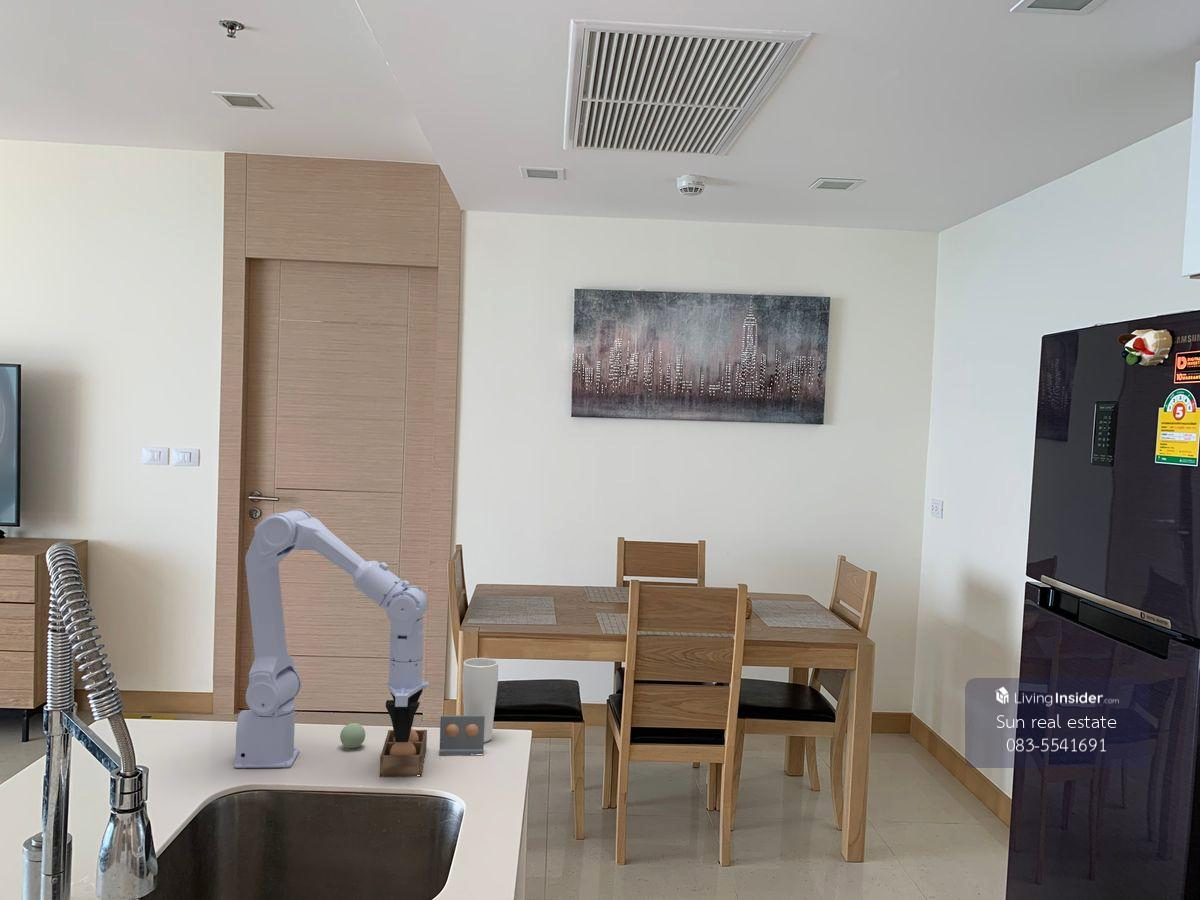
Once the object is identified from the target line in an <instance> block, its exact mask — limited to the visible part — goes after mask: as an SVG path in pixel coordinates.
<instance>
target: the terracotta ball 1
mask: <svg viewBox="0 0 1200 900" xmlns="http://www.w3.org/2000/svg"><path fill="white" fill-rule="evenodd" d="M415 730H416V729H413V727H412V728H411V732H410V737H409V740H408V741H410V742H419V737H418V734H417V732H416V731H415ZM393 742H396V741H395V737H394V741H393Z"/></svg>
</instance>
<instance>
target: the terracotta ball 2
mask: <svg viewBox="0 0 1200 900" xmlns="http://www.w3.org/2000/svg"><path fill="white" fill-rule="evenodd" d="M390 755H416V748H415V746H414V744H413V743H412V742H410V741H408V742H396V743H395V744H394V745H393V746H392V748H391V750H390Z"/></svg>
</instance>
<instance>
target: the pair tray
mask: <svg viewBox="0 0 1200 900" xmlns="http://www.w3.org/2000/svg"><path fill="white" fill-rule="evenodd" d="M414 730H415V731H416V732H417V734H418V737H419V742H412V743H413V744H414V746H415V748H416V755H390V750H391V748H392V746H393V745H394V744H395V743H396V742H393V741H394V731H393V729H388V731H387V735H386V737H385V740H384V743H383V746H382V751H381V753H380V759H379V777H380V776H417V775H420V776H419V777H422V776H423V771H422V770H424V765H425V760H424V759H426V754H427V753H426V752H427V748H428V747H427V744H428V743H427V742H428V740H427V739H428V730H427V729H414ZM423 764H424V765H423Z"/></svg>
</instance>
